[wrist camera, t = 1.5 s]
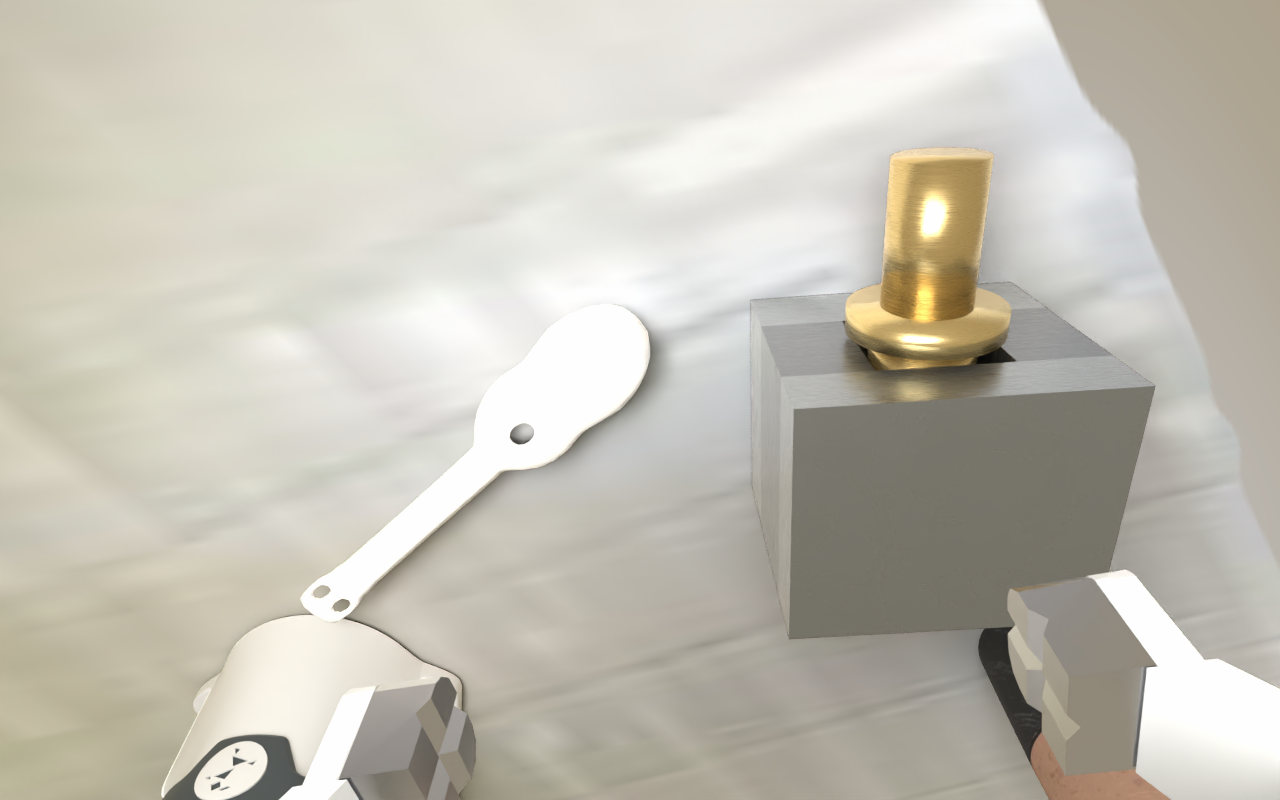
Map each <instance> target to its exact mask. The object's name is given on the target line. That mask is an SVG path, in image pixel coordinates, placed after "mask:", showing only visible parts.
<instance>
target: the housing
mask: <svg viewBox="0 0 1280 800" xmlns="http://www.w3.org/2000/svg"><path fill="white" fill-rule="evenodd" d="M977 287H978V288H981V289H984V290H987V291H990V292H992V293H995V294H997V295H998V296H1000V297H1002V298H1003V299H1005V300H1006V301H1007V302H1008V303H1009V305H1010V306H1011V310H1012V311H1011V317H1010V324H1009V331H1008V337H1007V341H1006V342H1005V344H1004V345H1003V346H1002V347H1000V348H999V349H997V350H995V351H993V352H991V353H988V354H985V355H982V356H978V357H977V364H974V365H959V366H943V367H928V368H913V369H897V370H882V371H875V370H874V369H873V367H872V366H871V364H870V363H869V361H868V360H867V351H868V349H866V348H864V347H862V346H860V345H858V344H857V343H855V342H854V341H852V340H851V339H850V338H849V337H848V336H847V334H846V332H845V309H846V301H847V299H848V297H849V296H850V295H851V294H853V293H842V294H828V295H813V296H798V297H784V298H769V299H754V300H750V313H751V447H752V489H753V493H754V497H755V501H756V505H757V509H758V513H759V518H760V522H761V526H762V530H763V534H764V538H765V542H766V546H767V551H768V555H769V559H770V563H771V567H772V571H773V575H774V579H775V584H776V588H777V592H778V596H779V600H780V604H781V608H782V612H783V617H784V621H785V625H786V629H787V633H788V637H789V639H801V638H819V637H837V636H855V635H873V634H891V633H909V632H927V631H945V630H963V629H982V628H1000V627H1014V626H1015V623H1014V621H1013V619H1012V617H1011V615H1010V614H1009V612H1008V610H1007V604H1008V593H1009V591H1010V589H1011V588H1017V587H1023V586H1029V585H1035V584H1041V583H1047V582H1053V581H1059V580H1065V579H1072V578H1078V577H1086V576H1090V575H1096V574H1102V573H1108V572H1109V568H1110V565H1111V561H1112V557H1113V553H1114V549H1115V545H1116V541H1117V537H1118V533H1119V529H1120V525H1121V521H1122V517H1123V513H1124V509H1125V505H1126V501H1127V497H1128V493H1129V489H1130V485H1131V481H1132V477H1133V473H1134V469H1135V465H1136V461H1137V457H1138V453H1139V449H1140V446H1141V442H1142V438H1143V434H1144V430H1145V426H1146V422H1147V418H1148V414H1149V410H1150V406H1151V402H1152V398H1153V394H1154V390H1155V385H1153V384H1152V383H1151V382H1149V381H1148V380H1146V379H1145V378H1144V377H1142V376H1141V375H1140V374H1138V373H1137V372H1135V371H1134V370H1133V369H1131V368H1130V367H1128V366H1127V365H1126V364H1124V363H1123V362H1121V361H1120V360H1119V359H1117V358H1116V357H1114V356H1113V355H1112V354H1110V353H1109V352H1107V351H1106V350H1105V349H1103V348H1102V347H1101V346H1099V345H1098V344H1096V343H1095V342H1094V341H1092V340H1091V339H1089V338H1088V337H1087V336H1085V335H1084V334H1082V333H1081V332H1080V331H1078V330H1077V329H1075V328H1074V327H1073V326H1071V325H1070V324H1069V323H1067V322H1066V321H1064V320H1063V319H1062V318H1060V317H1059V316H1057V315H1056V314H1055V313H1053V312H1052V311H1050V310H1049V309H1048V308H1046V307H1045V306H1043V305H1042V304H1041V303H1039V302H1038V301H1037V300H1035V299H1034V298H1032V297H1031V296H1030V295H1028V294H1027V293H1025V292H1024V291H1023V290H1021V289H1020V288H1018V287H1017V286H1016V285H1014V284H1013V283H1011V282H1003V283H989V284H977Z"/></svg>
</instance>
